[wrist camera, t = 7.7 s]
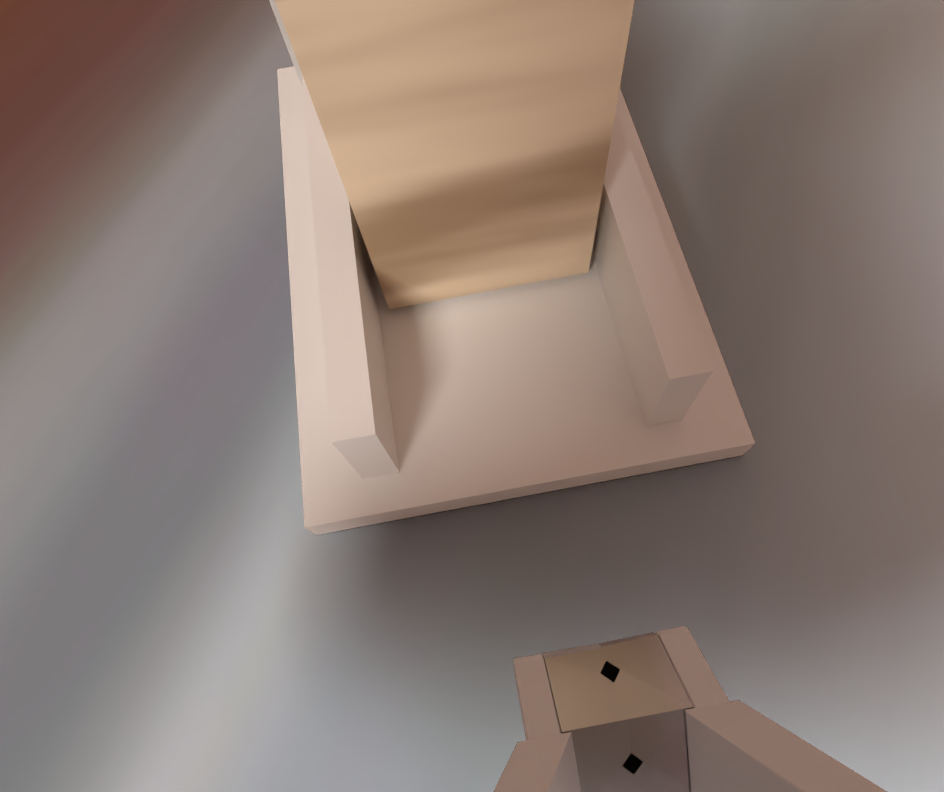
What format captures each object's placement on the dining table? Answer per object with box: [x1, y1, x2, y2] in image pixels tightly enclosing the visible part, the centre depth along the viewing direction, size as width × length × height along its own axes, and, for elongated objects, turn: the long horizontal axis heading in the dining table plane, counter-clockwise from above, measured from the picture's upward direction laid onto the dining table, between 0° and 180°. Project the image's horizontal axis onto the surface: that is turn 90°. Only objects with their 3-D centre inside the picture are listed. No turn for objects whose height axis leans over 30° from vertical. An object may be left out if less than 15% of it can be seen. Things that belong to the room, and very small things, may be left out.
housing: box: [269, 0, 755, 535], centre depth 18 cm, size 18×12×5 cm
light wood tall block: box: [275, 0, 635, 309], centre depth 15 cm, size 5×6×10 cm
